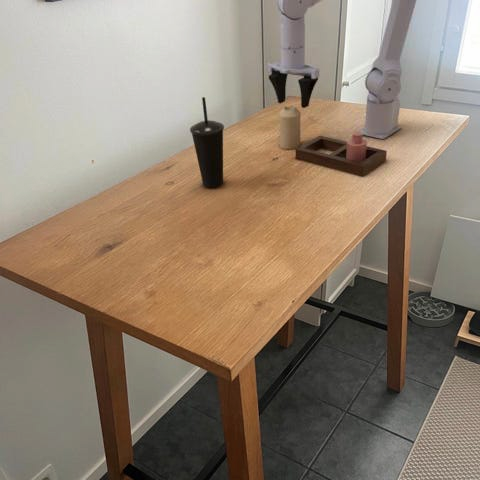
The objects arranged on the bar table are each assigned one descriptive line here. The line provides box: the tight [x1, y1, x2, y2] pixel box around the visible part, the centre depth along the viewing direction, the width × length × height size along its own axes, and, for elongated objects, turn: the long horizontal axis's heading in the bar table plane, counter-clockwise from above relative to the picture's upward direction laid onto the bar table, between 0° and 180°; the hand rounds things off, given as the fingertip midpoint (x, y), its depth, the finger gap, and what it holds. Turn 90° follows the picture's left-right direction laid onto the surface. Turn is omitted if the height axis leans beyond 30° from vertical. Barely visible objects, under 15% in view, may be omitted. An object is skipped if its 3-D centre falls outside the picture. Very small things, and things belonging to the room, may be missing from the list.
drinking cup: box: [189, 96, 225, 190], centre depth 115 cm, size 8×8×20 cm
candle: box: [278, 105, 301, 150], centre depth 134 cm, size 6×6×10 cm
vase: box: [346, 131, 368, 162], centre depth 122 cm, size 5×5×8 cm
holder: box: [295, 135, 388, 177], centre depth 126 cm, size 11×20×3 cm, turn 48°
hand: (293, 104), depth 131 cm, fingers open, 7 cm apart
